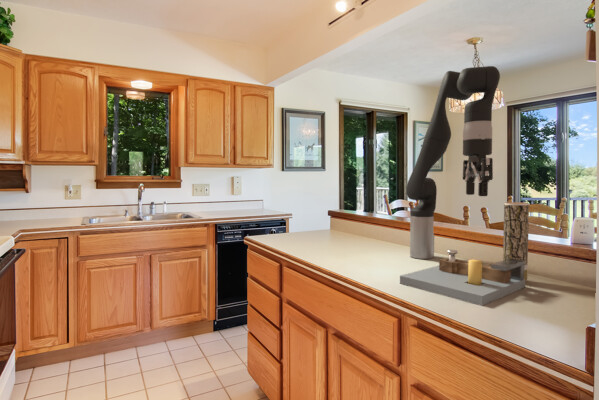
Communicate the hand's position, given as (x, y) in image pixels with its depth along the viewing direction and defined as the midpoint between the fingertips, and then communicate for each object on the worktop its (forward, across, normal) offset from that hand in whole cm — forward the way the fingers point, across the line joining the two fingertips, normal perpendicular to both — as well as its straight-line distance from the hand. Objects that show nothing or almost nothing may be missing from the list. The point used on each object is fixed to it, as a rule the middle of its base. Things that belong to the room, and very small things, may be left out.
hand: (476, 195), depth 106 cm
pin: (+28, 0, 0) cm, 28 cm away
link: (+25, -8, +3) cm, 27 cm away
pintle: (+28, -14, -2) cm, 31 cm away
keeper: (+28, -2, +10) cm, 30 cm away
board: (+28, -6, -2) cm, 29 cm away
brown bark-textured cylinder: (+28, -12, +17) cm, 35 cm away
